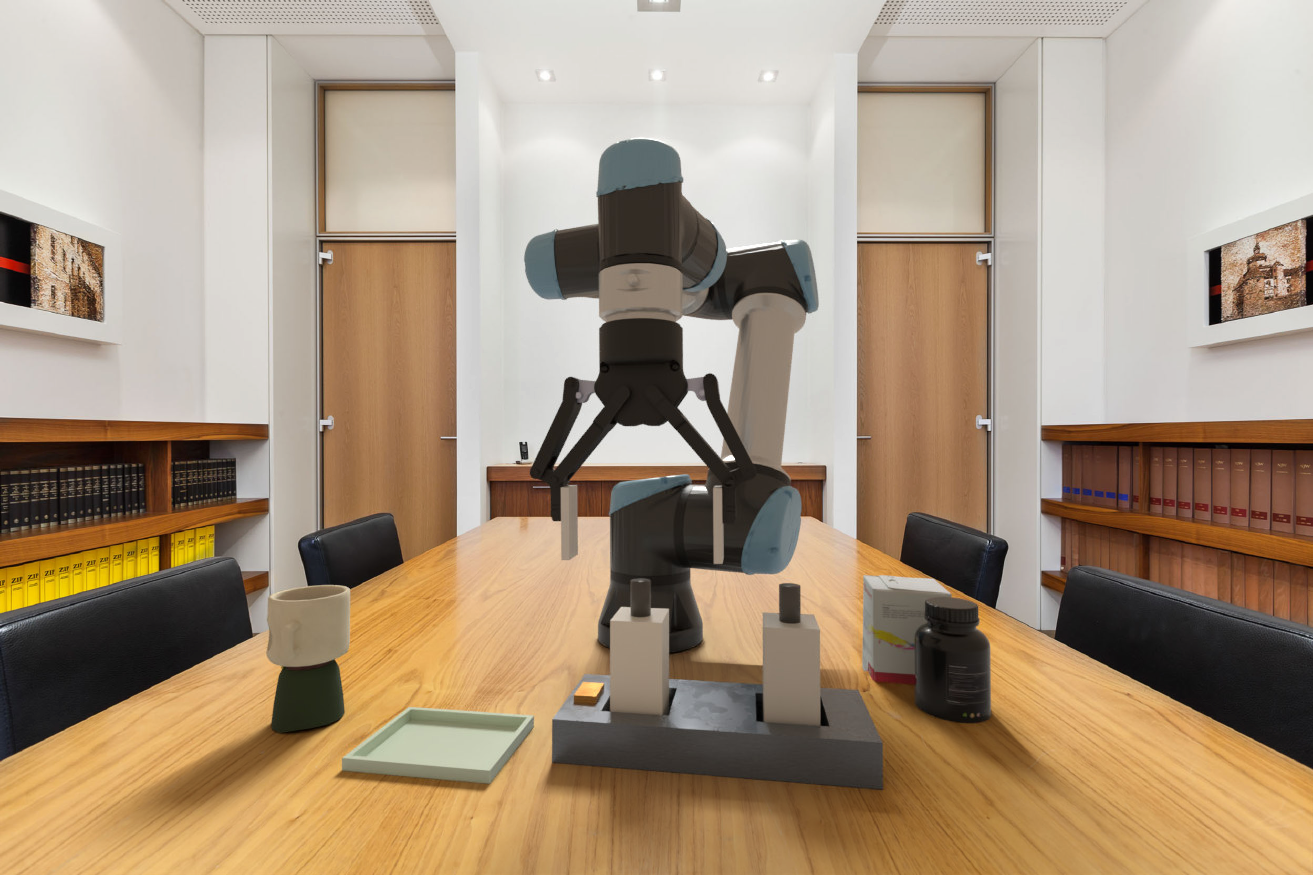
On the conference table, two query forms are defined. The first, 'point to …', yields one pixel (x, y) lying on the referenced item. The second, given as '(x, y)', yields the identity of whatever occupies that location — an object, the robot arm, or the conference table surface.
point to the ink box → (894, 624)
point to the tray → (441, 745)
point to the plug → (640, 655)
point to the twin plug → (791, 662)
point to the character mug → (308, 654)
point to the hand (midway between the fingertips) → (642, 559)
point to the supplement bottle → (952, 662)
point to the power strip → (721, 735)
